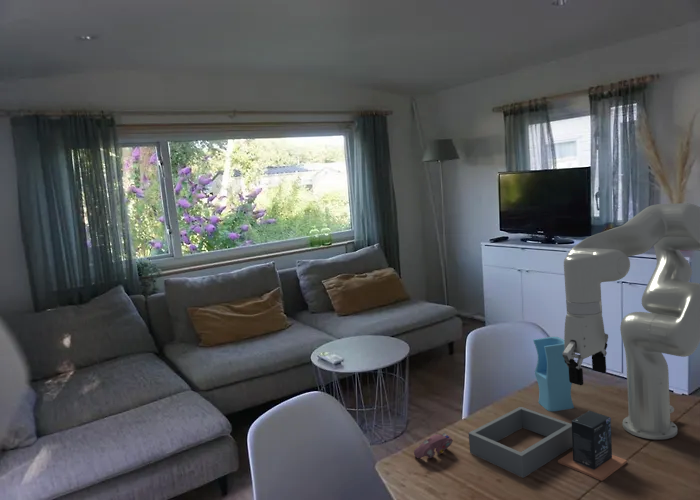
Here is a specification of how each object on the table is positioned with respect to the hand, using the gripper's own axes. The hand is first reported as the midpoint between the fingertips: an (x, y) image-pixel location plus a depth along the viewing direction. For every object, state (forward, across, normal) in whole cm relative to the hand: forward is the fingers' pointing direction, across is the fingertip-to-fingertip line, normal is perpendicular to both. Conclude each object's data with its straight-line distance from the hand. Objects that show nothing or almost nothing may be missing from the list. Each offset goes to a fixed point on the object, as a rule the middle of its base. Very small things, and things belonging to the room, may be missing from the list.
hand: (588, 377), depth 121 cm
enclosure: (+21, +6, -16) cm, 27 cm away
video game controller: (+21, +24, -30) cm, 44 cm away
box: (+21, 0, 0) cm, 21 cm away
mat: (+21, 0, 0) cm, 21 cm away
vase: (+22, -22, -24) cm, 39 cm away
